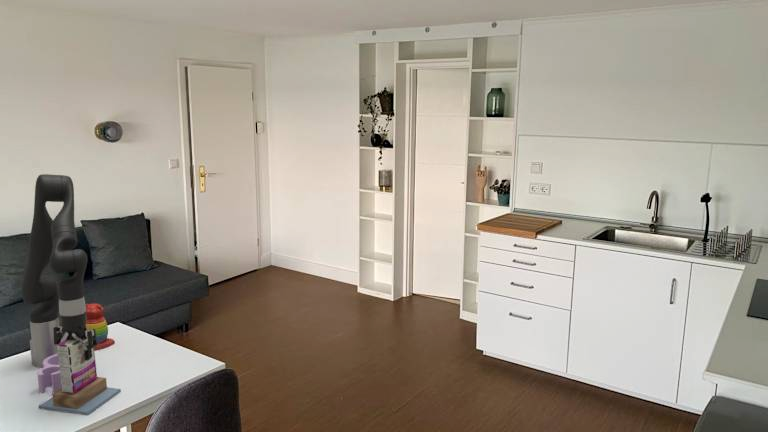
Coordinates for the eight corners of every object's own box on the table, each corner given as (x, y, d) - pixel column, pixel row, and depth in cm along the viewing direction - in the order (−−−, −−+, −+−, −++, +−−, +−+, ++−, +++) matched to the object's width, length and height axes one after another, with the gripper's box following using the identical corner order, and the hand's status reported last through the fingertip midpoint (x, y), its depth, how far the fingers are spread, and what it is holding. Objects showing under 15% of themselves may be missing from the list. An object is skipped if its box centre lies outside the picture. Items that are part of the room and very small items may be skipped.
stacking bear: (117, 342, 243) (113, 300, 239) (100, 352, 233) (96, 309, 230) (94, 339, 245) (90, 298, 242) (76, 349, 235) (72, 306, 232)
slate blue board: (39, 408, 189) (38, 405, 189) (74, 385, 205) (74, 383, 205) (88, 415, 186) (87, 412, 186) (120, 391, 201) (120, 388, 201)
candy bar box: (84, 377, 200) (80, 331, 197) (97, 378, 199) (93, 332, 196) (60, 392, 190) (55, 344, 187) (73, 394, 189) (69, 345, 186)
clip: (67, 393, 200) (65, 374, 199) (28, 394, 199) (26, 375, 198) (90, 367, 220) (89, 350, 218) (55, 368, 218) (54, 351, 217)
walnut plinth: (53, 405, 189) (52, 394, 189) (83, 385, 203) (82, 375, 202) (77, 409, 187) (76, 397, 187) (106, 388, 201) (106, 377, 200)
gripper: (44, 312, 187) (49, 360, 190) (83, 317, 184) (87, 365, 187) (62, 305, 195) (66, 351, 198) (100, 309, 192) (103, 356, 195)
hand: (76, 358), depth 193 cm, fingers open, 8 cm apart
